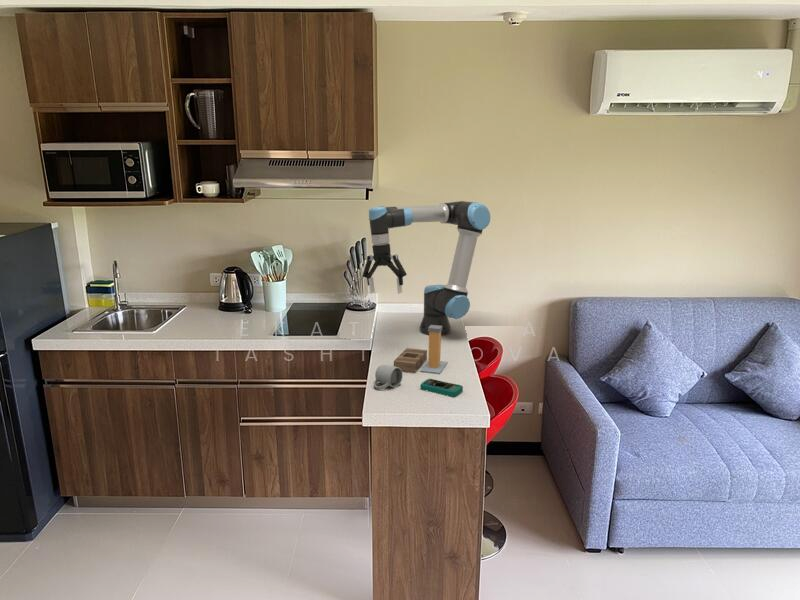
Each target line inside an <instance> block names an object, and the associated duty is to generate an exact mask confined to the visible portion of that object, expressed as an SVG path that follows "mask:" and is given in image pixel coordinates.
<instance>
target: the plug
mask: <svg viewBox="0 0 800 600" xmlns="http://www.w3.org/2000/svg"><path fill="white" fill-rule="evenodd" d="M441 331H442V326H438V325H430V326H429V327H428V332H429V335H428V353H427V362H428V367H432V368H438V367H439V366H440V361H441V350H442V349H441V348H442V347H441V343H442V342H441V341H442V335H441Z"/></svg>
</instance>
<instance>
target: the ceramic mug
mask: <svg viewBox="0 0 800 600" xmlns="http://www.w3.org/2000/svg"><path fill="white" fill-rule="evenodd" d="M374 375H375V379H374V381H373V387H374V388H376V389H375V390H377V389H381V390H380V391H382V390H385V389H386V388H389V387H390V388H393V389H394V388H395V387H396V388H397V386H398V387H399V386H400V385H401V383H402V380H403V372H402V370H401V369H400V368H399V367H394V365H389V364H381V365H379V366H378V367H377V368H376V371H375V374H374ZM378 383H379V384H381V385H380V386H377V384H378Z"/></svg>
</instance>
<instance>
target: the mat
mask: <svg viewBox="0 0 800 600" xmlns="http://www.w3.org/2000/svg"><path fill="white" fill-rule="evenodd" d="M448 362H449V361H444V360H440V366H439V367H438V368H432V367H428V361H426V363H425V364H424V365H422V367H421V369H420V370H419V372H421V373H427V374H435V375H440V374H441V373H442V372H443V370H444V369H445V368H446V366H447V365H448Z"/></svg>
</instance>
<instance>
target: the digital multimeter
mask: <svg viewBox="0 0 800 600" xmlns="http://www.w3.org/2000/svg"><path fill="white" fill-rule="evenodd" d="M419 386H420V390H421V389H422V391H425V390H428V391H427V392H430V391H431V393H435V392H436V393H435V394H440V395H443V394H444V395H443V396H447V395H448V396H447V397H451V398H455V397H457V396H459V395H460V394H461V393H462V392H463V391H464V389H463V388H464V386H463V385H462V384H457V383H452V382H447V381H442V380H439V379H434V378H428V379H426V380H424V381H422V382H421V383H420V385H419Z"/></svg>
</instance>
